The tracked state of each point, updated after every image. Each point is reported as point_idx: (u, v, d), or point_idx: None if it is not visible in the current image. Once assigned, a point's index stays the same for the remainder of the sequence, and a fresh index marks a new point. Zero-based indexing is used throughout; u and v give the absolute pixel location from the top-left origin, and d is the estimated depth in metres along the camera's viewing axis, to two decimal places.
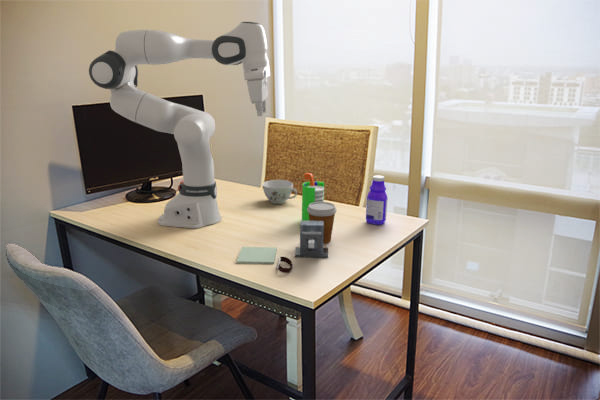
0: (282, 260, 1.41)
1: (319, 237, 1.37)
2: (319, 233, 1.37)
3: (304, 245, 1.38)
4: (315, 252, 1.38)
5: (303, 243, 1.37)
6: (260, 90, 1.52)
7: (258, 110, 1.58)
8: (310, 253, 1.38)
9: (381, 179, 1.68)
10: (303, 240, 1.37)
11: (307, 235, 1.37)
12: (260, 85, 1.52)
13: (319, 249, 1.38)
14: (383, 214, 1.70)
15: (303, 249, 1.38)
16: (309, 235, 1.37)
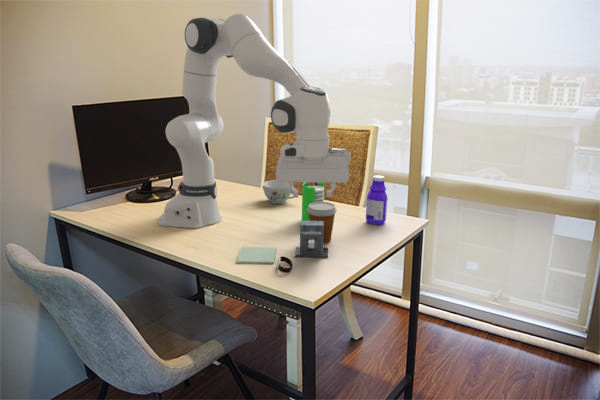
0: (282, 260, 1.41)
1: (319, 237, 1.37)
2: (319, 233, 1.37)
3: (304, 245, 1.38)
4: (315, 252, 1.38)
5: (303, 243, 1.37)
6: None
7: None
8: (310, 253, 1.38)
9: (381, 179, 1.68)
10: (303, 240, 1.37)
11: (307, 235, 1.37)
12: (277, 163, 1.30)
13: (319, 249, 1.38)
14: (383, 214, 1.70)
15: (303, 249, 1.38)
16: (309, 235, 1.37)
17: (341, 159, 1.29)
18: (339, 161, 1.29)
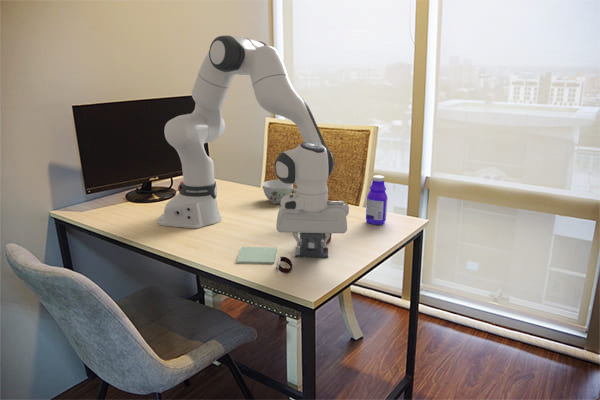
0: (282, 260, 1.41)
1: (319, 237, 1.37)
2: (319, 233, 1.37)
3: (304, 245, 1.38)
4: (315, 252, 1.38)
5: (303, 243, 1.37)
6: (277, 219, 1.35)
7: None
8: (310, 253, 1.38)
9: (381, 179, 1.68)
10: (303, 240, 1.37)
11: (307, 235, 1.37)
12: None
13: (319, 249, 1.38)
14: (383, 214, 1.70)
15: (303, 249, 1.38)
16: (309, 235, 1.37)
17: (339, 211, 1.33)
18: (337, 213, 1.33)
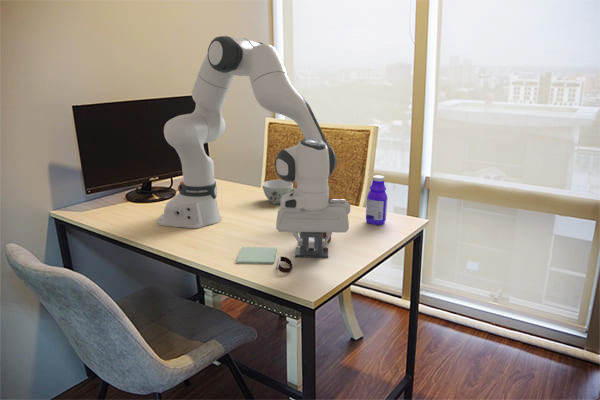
0: (282, 260, 1.41)
1: (320, 236, 1.33)
2: (320, 232, 1.34)
3: (305, 245, 1.34)
4: (316, 251, 1.35)
5: (304, 242, 1.34)
6: None
7: None
8: (311, 253, 1.35)
9: (381, 179, 1.68)
10: (304, 239, 1.34)
11: (308, 234, 1.33)
12: None
13: (320, 249, 1.35)
14: (383, 214, 1.70)
15: (304, 249, 1.35)
16: (310, 234, 1.33)
17: (340, 210, 1.30)
18: (339, 212, 1.30)
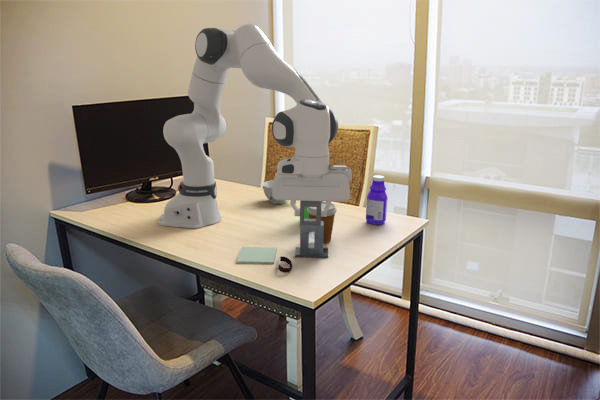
0: (282, 260, 1.41)
1: (319, 206, 1.24)
2: (319, 201, 1.25)
3: (302, 214, 1.25)
4: (314, 222, 1.26)
5: (301, 212, 1.25)
6: (273, 185, 1.22)
7: None
8: (309, 223, 1.26)
9: (381, 179, 1.68)
10: (301, 209, 1.25)
11: (306, 203, 1.24)
12: None
13: (319, 219, 1.26)
14: (383, 214, 1.70)
15: (301, 219, 1.26)
16: (308, 203, 1.24)
17: (341, 177, 1.21)
18: (339, 179, 1.21)
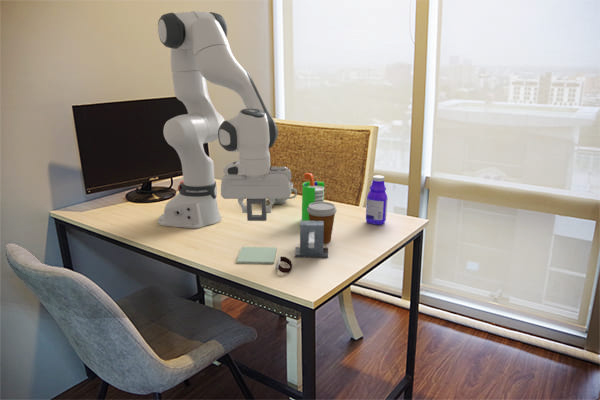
0: (282, 260, 1.41)
1: (263, 203, 1.39)
2: (263, 199, 1.40)
3: (249, 211, 1.40)
4: (260, 217, 1.41)
5: (248, 209, 1.40)
6: (221, 185, 1.38)
7: None
8: (255, 219, 1.41)
9: (381, 179, 1.68)
10: (248, 206, 1.40)
11: (252, 201, 1.39)
12: None
13: (264, 215, 1.40)
14: (383, 214, 1.70)
15: (248, 215, 1.40)
16: (253, 201, 1.39)
17: (281, 177, 1.36)
18: (279, 178, 1.36)
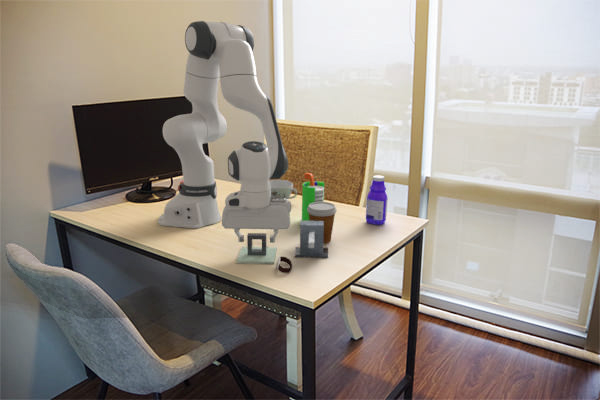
0: (282, 260, 1.41)
1: (264, 238, 1.43)
2: (264, 234, 1.43)
3: (249, 246, 1.44)
4: (260, 252, 1.44)
5: (248, 244, 1.44)
6: (222, 216, 1.40)
7: None
8: (255, 254, 1.44)
9: (381, 179, 1.68)
10: (248, 241, 1.43)
11: (252, 236, 1.43)
12: (223, 211, 1.40)
13: (264, 250, 1.44)
14: (383, 214, 1.70)
15: (249, 250, 1.44)
16: (254, 236, 1.43)
17: (281, 208, 1.39)
18: (280, 210, 1.39)
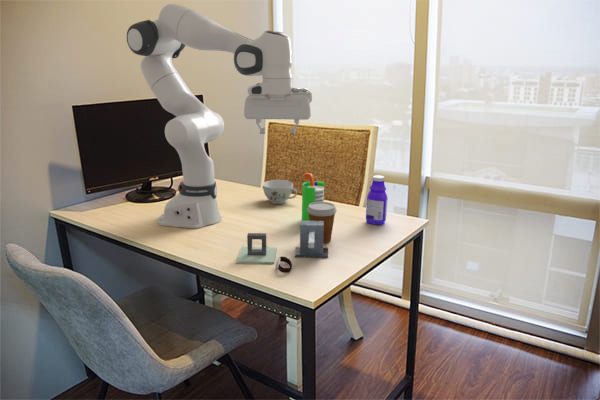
0: (282, 260, 1.40)
1: (264, 238, 1.43)
2: (264, 234, 1.43)
3: (249, 246, 1.44)
4: (260, 252, 1.44)
5: (248, 244, 1.44)
6: None
7: None
8: (255, 254, 1.44)
9: (381, 179, 1.68)
10: (248, 241, 1.43)
11: (252, 236, 1.43)
12: (245, 100, 1.43)
13: (264, 250, 1.44)
14: (383, 214, 1.70)
15: (249, 250, 1.44)
16: (254, 236, 1.43)
17: (302, 97, 1.43)
18: (301, 99, 1.43)
